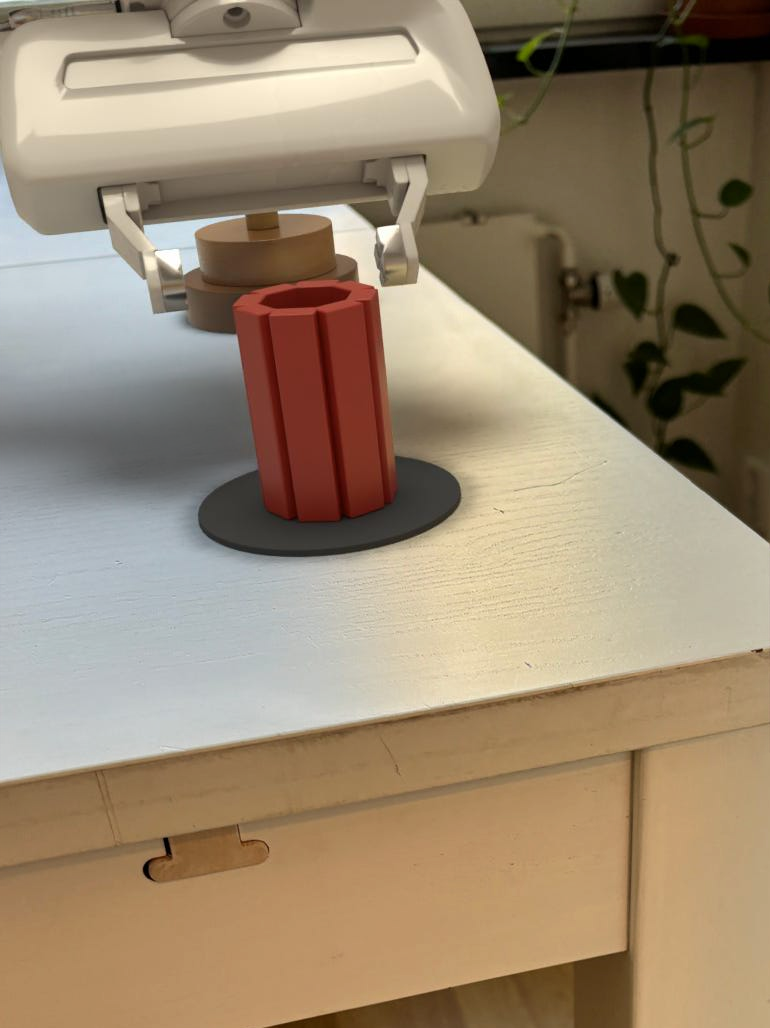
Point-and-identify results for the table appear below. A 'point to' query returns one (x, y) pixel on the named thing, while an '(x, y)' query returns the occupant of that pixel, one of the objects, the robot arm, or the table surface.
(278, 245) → the tower
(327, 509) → the red fluted tube
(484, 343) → the table surface
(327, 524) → the coaster
